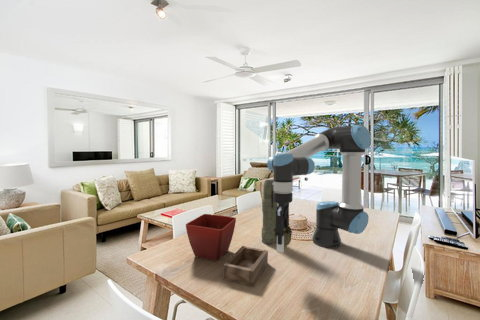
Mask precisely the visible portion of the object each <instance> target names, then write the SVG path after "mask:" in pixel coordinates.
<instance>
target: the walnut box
mask: <svg viewBox="0 0 480 320" xmlns="http://www.w3.org/2000/svg"><path fill="white" fill-rule="evenodd" d="M268 252H269V251H268V250H267V249H260V248H256V247H250V246H246V245H242V246H241V247H239V248H238V250H237V251H236V252H235V253H234V254H233V255H232V256H230V258H228V260H227V261H225V263H224V264H223V280H225V281H229V282H233V283H237V284H240V285H245V286H248V287H254V285H255V284H256V282H257V281H258V280H259V278H260V276H261V275H262V273H263V272H264V269H265V268H266V267H267V265H268V264H269V263H268V262H269V261H268V260H269V259H268V254H269V253H268Z"/></svg>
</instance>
